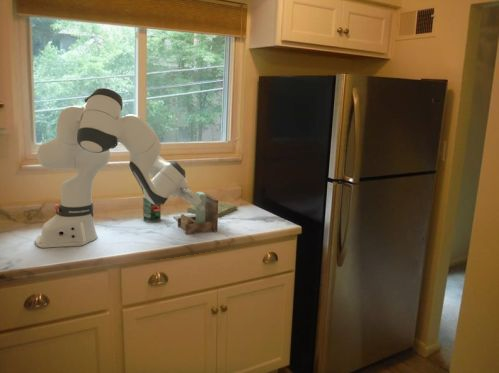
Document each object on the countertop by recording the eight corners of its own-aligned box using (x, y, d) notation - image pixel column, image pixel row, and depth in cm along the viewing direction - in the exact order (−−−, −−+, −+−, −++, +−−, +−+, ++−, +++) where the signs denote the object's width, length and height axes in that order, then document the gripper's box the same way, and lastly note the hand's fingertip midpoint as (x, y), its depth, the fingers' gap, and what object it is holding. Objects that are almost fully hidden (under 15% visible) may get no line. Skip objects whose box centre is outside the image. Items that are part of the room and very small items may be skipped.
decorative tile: (237, 210, 226) (237, 203, 226) (216, 219, 209) (216, 212, 208) (207, 205, 235) (207, 198, 234) (185, 213, 218) (185, 206, 217)
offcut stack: (186, 233, 185) (187, 219, 184) (180, 227, 192) (180, 214, 191) (196, 231, 187) (196, 218, 186) (189, 226, 194) (190, 213, 193)
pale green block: (199, 230, 189) (199, 194, 186) (195, 227, 194) (195, 192, 190) (205, 229, 190) (205, 194, 187) (200, 226, 195) (201, 191, 192)
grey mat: (181, 224, 196) (181, 223, 196) (173, 217, 207) (173, 216, 207) (206, 222, 202) (206, 220, 202) (197, 215, 212) (197, 214, 212)
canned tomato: (145, 216, 207) (145, 194, 205) (161, 217, 207) (161, 194, 205) (141, 221, 199) (141, 198, 197) (159, 221, 199) (159, 198, 197)
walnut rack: (187, 235, 182) (187, 202, 179) (176, 225, 194) (176, 195, 191) (217, 231, 188) (218, 200, 185) (205, 222, 200) (206, 193, 198)
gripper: (190, 185, 174) (213, 206, 181) (175, 176, 192) (196, 196, 199) (179, 196, 173) (202, 218, 180) (165, 186, 191) (186, 206, 197)
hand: (199, 206), depth 189 cm, fingers open, 8 cm apart
